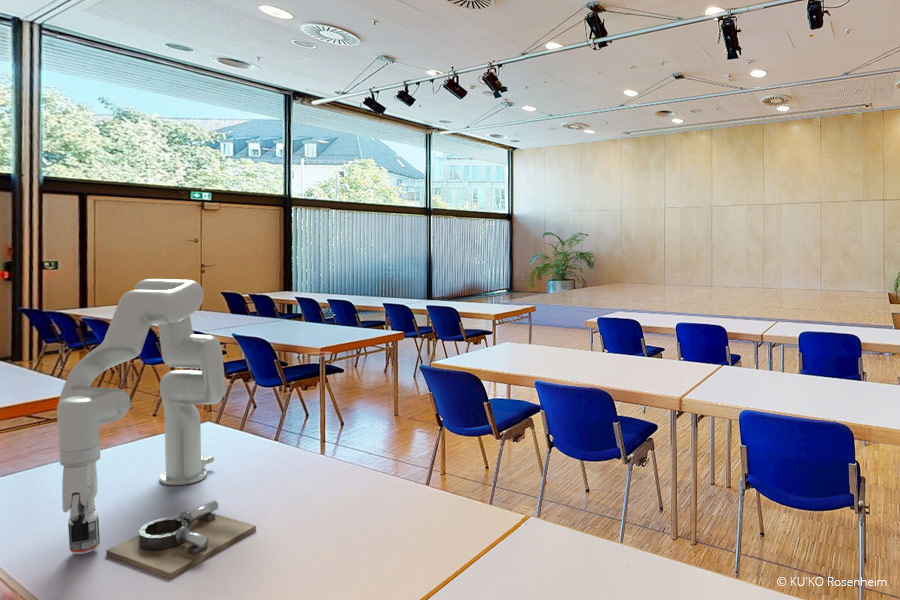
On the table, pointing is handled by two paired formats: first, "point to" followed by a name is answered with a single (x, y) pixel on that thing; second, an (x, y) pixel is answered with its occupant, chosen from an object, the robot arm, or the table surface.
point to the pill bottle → (94, 537)
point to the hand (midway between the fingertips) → (84, 532)
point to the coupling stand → (180, 540)
